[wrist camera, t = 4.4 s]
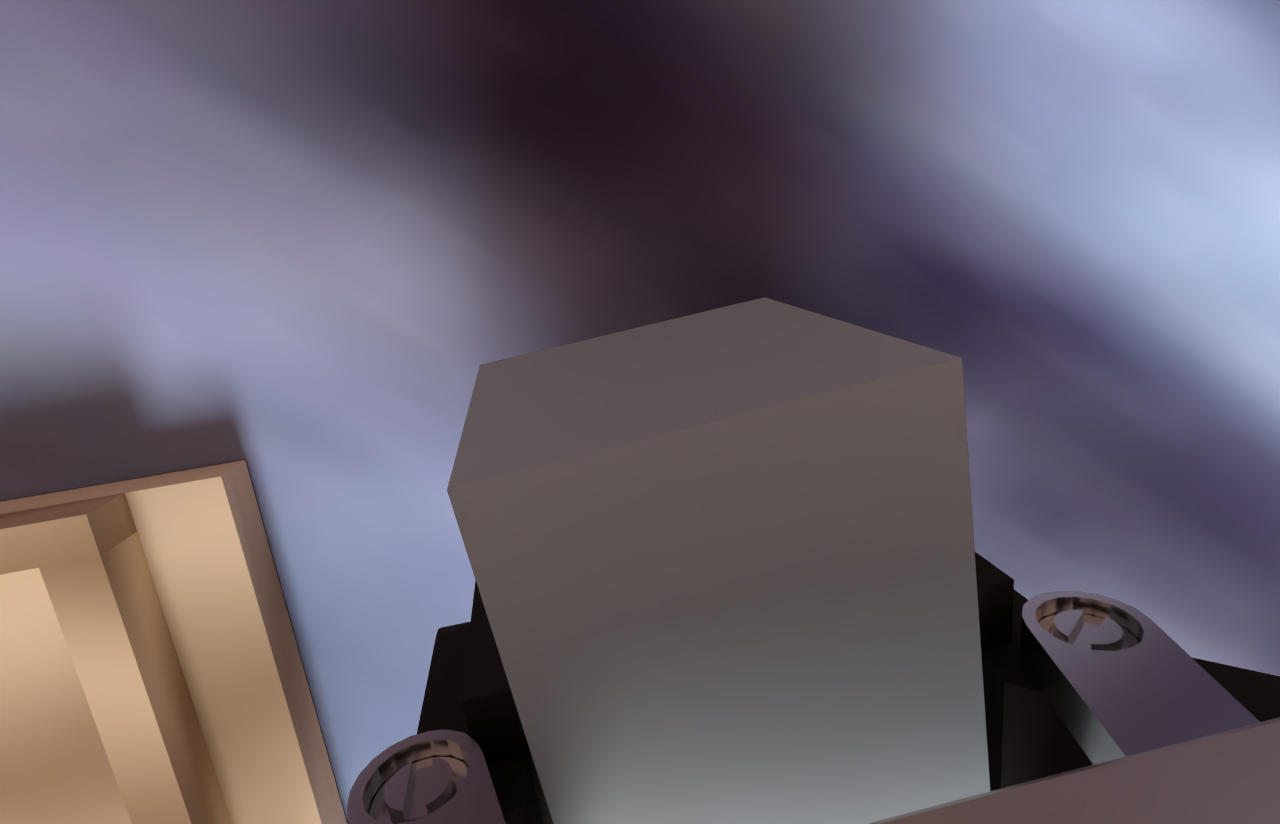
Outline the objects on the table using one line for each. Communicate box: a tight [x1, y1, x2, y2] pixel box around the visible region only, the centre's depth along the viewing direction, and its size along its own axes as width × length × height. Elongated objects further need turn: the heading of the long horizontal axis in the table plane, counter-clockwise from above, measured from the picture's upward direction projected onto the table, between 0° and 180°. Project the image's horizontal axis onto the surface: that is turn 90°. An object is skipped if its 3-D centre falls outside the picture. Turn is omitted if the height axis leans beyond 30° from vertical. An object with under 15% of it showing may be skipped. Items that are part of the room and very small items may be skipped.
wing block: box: [447, 297, 990, 824], centre depth 9 cm, size 8×4×5 cm, turn 13°
